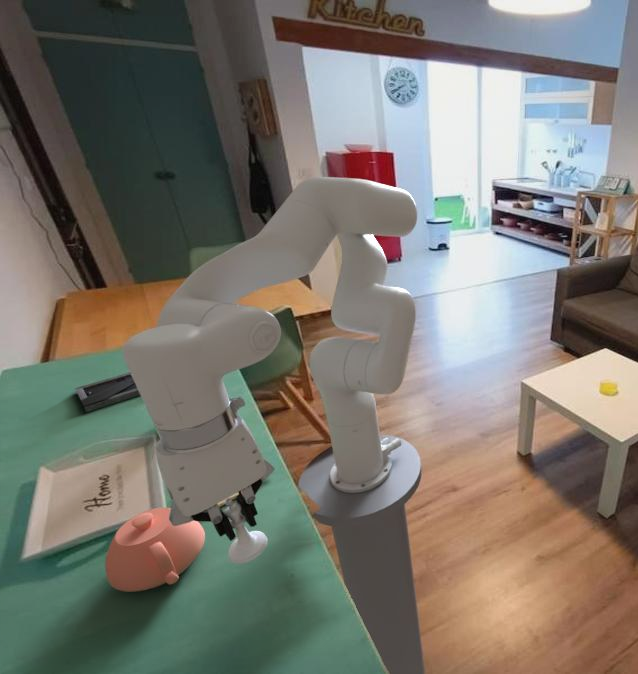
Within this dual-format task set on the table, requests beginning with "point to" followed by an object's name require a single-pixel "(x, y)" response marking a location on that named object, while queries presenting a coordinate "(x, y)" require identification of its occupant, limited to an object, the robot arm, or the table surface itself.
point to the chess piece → (243, 536)
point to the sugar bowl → (152, 551)
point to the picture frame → (107, 392)
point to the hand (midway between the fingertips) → (239, 526)
